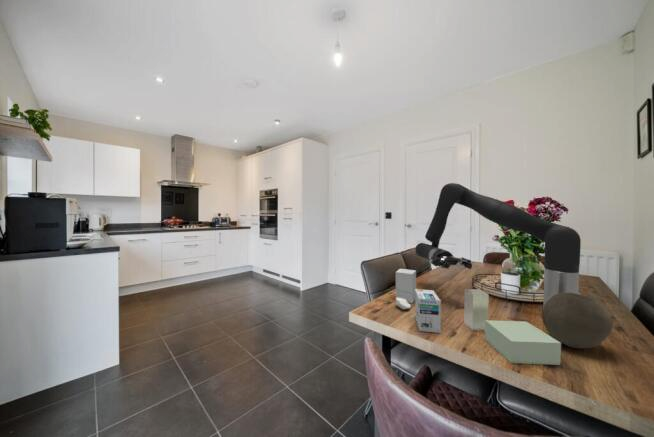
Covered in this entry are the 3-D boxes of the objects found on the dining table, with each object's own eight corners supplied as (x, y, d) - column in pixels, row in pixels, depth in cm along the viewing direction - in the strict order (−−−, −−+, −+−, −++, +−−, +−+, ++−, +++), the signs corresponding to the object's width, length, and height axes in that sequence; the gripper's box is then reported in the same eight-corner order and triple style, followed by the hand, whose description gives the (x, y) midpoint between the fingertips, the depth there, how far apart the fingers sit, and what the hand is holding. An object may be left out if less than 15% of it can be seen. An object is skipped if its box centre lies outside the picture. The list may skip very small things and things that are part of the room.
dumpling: (392, 305, 102) (392, 296, 101) (404, 304, 103) (404, 295, 103) (402, 312, 95) (402, 302, 95) (414, 311, 96) (414, 301, 96)
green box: (525, 340, 75) (526, 321, 75) (560, 366, 63) (561, 343, 63) (484, 339, 76) (485, 320, 76) (510, 364, 64) (511, 341, 64)
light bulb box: (441, 333, 79) (441, 300, 78) (419, 331, 80) (419, 298, 80) (433, 319, 89) (434, 289, 89) (414, 317, 91) (414, 288, 90)
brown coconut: (596, 365, 63) (598, 307, 62) (531, 338, 76) (533, 290, 75) (620, 352, 68) (623, 299, 68) (556, 329, 81) (558, 284, 81)
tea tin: (478, 323, 86) (479, 289, 85) (487, 330, 81) (488, 294, 80) (464, 323, 86) (464, 289, 86) (472, 330, 81) (473, 294, 81)
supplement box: (416, 298, 110) (416, 270, 109) (412, 303, 104) (412, 273, 103) (399, 295, 114) (400, 268, 113) (394, 300, 108) (395, 271, 107)
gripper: (424, 248, 110) (440, 256, 94) (456, 249, 110) (478, 256, 94) (424, 265, 110) (440, 275, 94) (456, 265, 110) (477, 276, 94)
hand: (459, 266), depth 94 cm, fingers open, 8 cm apart
